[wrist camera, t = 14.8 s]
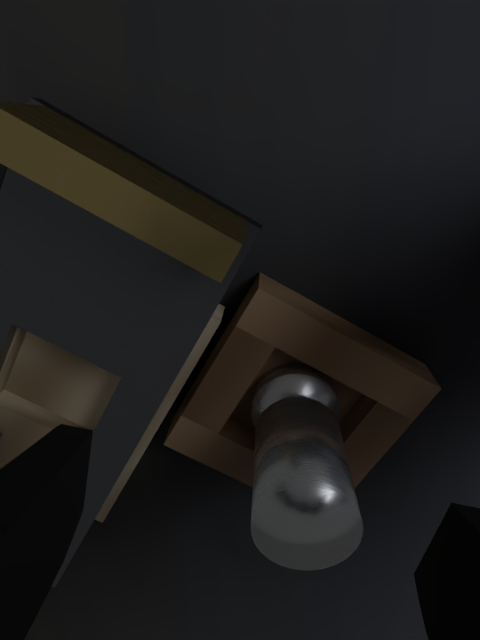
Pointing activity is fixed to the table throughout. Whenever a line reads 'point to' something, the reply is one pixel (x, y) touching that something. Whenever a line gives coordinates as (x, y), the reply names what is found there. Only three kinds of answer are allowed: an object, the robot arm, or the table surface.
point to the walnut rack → (308, 348)
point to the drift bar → (108, 269)
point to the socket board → (70, 396)
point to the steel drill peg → (301, 472)
